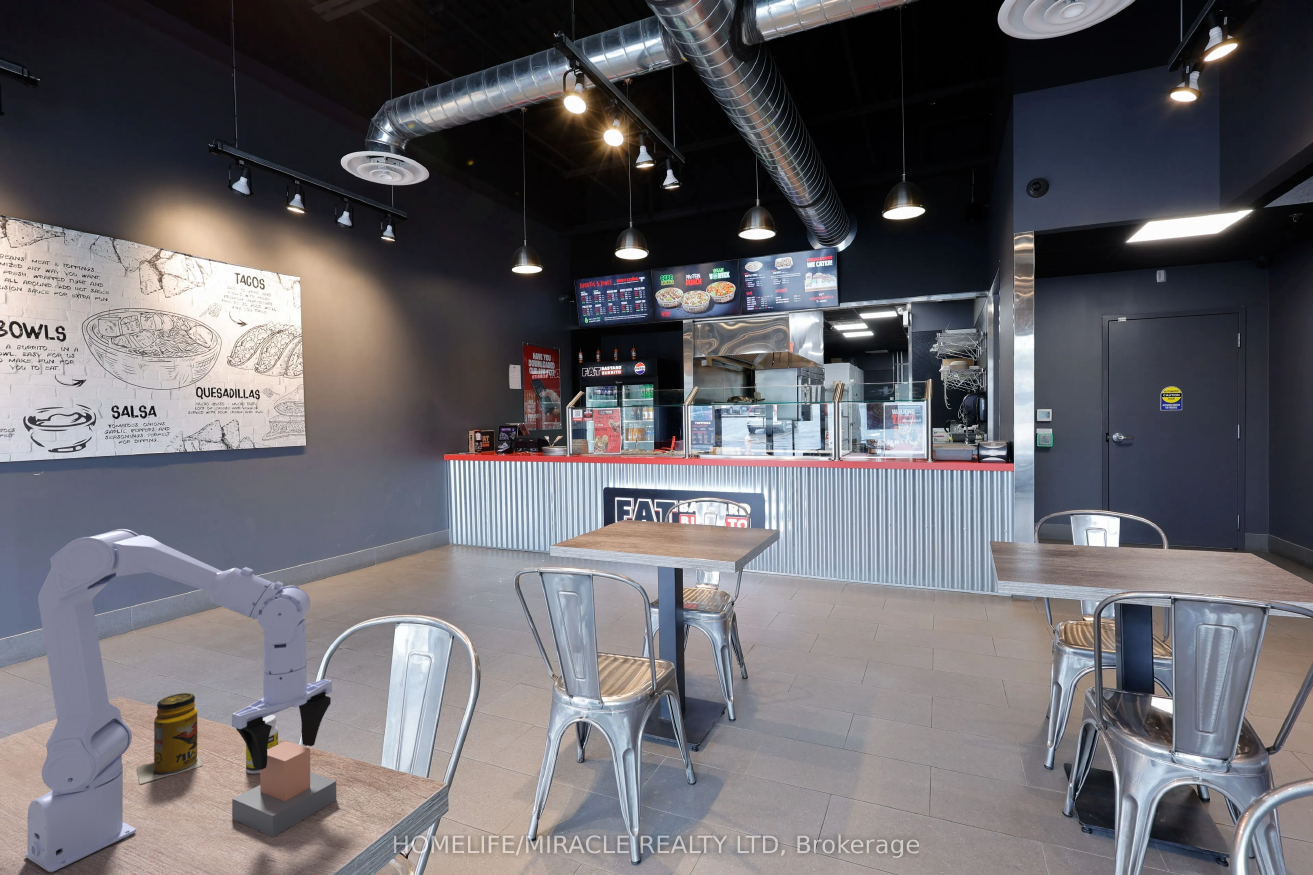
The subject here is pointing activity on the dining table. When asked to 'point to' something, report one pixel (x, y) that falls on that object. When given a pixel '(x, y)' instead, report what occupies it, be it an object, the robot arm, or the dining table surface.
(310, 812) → the base brick
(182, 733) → the condiment
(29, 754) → the dining table surface
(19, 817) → the dining table surface
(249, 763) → the supplement bottle
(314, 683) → the robot arm
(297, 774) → the top brick
